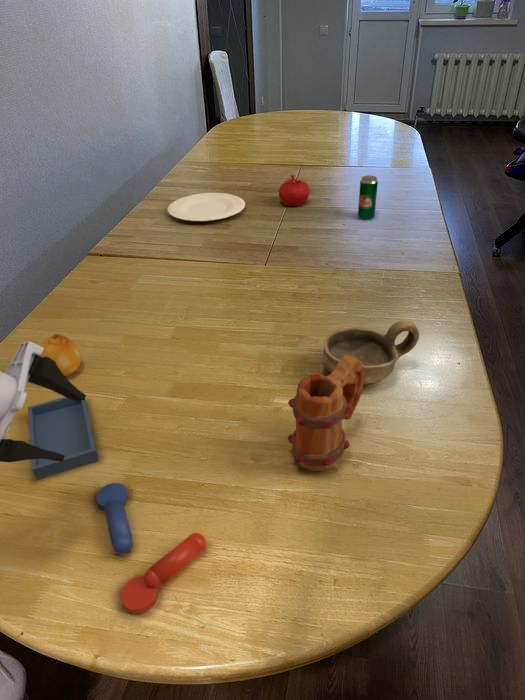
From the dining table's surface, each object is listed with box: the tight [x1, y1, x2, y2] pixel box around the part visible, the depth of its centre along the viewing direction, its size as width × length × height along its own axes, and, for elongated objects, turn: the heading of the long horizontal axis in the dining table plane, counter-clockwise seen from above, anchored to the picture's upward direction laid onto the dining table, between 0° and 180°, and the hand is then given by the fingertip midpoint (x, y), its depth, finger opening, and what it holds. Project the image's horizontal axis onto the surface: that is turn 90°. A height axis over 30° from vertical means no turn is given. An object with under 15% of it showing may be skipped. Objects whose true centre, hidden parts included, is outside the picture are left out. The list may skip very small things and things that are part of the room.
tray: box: [27, 391, 100, 480], centre depth 84 cm, size 15×9×2 cm, turn 23°
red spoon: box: [120, 532, 207, 615], centre depth 64 cm, size 12×4×3 cm, turn 135°
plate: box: [167, 192, 246, 223], centre depth 166 cm, size 25×25×2 cm
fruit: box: [38, 333, 82, 377], centre depth 98 cm, size 8×8×8 cm
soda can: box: [357, 174, 379, 221], centre depth 154 cm, size 5×5×12 cm
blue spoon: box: [96, 482, 134, 555], centre depth 70 cm, size 12×4×3 cm, turn 23°
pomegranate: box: [278, 174, 311, 207], centre depth 167 cm, size 10×10×9 cm
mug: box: [287, 355, 365, 472], centre depth 76 cm, size 15×8×15 cm, turn 136°
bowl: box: [320, 319, 420, 385], centre depth 93 cm, size 14×18×10 cm
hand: (70, 427), depth 63 cm, fingers open, 7 cm apart
